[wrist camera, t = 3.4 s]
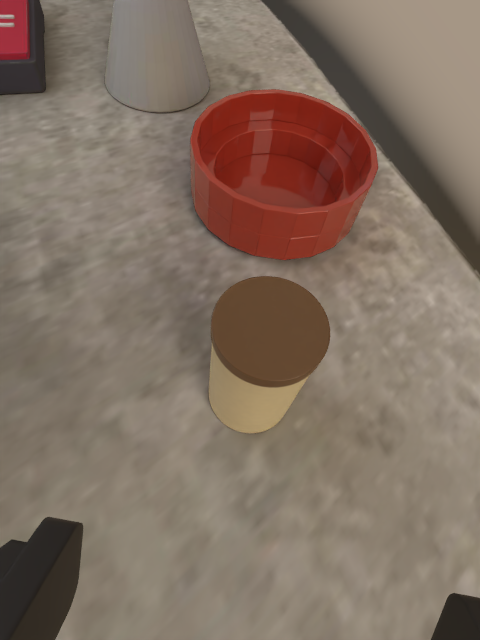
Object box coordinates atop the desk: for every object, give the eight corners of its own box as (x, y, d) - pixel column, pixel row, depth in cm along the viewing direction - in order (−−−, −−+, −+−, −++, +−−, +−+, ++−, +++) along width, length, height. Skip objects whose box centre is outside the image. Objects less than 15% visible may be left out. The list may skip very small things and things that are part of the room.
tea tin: (192, 412, 25) (189, 348, 17) (228, 342, 27) (240, 260, 20) (272, 450, 24) (307, 402, 16) (301, 374, 27) (344, 302, 19)
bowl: (161, 223, 32) (155, 166, 28) (233, 129, 39) (238, 71, 34) (325, 290, 30) (348, 242, 26) (370, 179, 37) (395, 124, 33)
